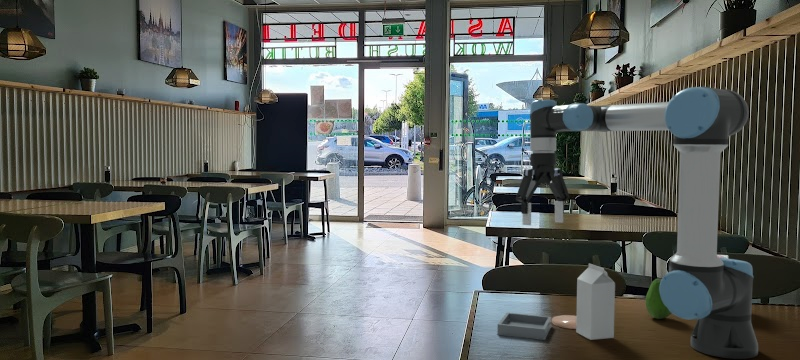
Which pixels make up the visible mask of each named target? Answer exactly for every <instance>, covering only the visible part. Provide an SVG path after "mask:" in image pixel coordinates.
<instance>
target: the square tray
mask: <svg viewBox="0 0 800 360" xmlns="http://www.w3.org/2000/svg"><path fill="white" fill-rule="evenodd" d="M552 318H553V317H552V316H548V315H547V316H546V315H536V314H525V313H517V312H515V313H514V312H506V313H505V315H503V317H502V318H501V319H500V321H498V323H497V332H496V333H497V335H499V336H508V337H516V338H524V339H525V338H526V339H533V340H534V339H535V340H543V341H545V340H546V339H547V337H548V335H549V332H550V330H551V328H552Z"/></svg>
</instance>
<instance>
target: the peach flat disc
mask: <svg viewBox="0 0 800 360" xmlns="http://www.w3.org/2000/svg"><path fill="white" fill-rule="evenodd" d="M576 319H577V315H573V314H572V315H569V314H564V315H561V314H560V315H557V316H556V315H555V316H553V317H552V320H551V324H553V325H554V326H556V327H559V328H563V329H568V330H576Z"/></svg>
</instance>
